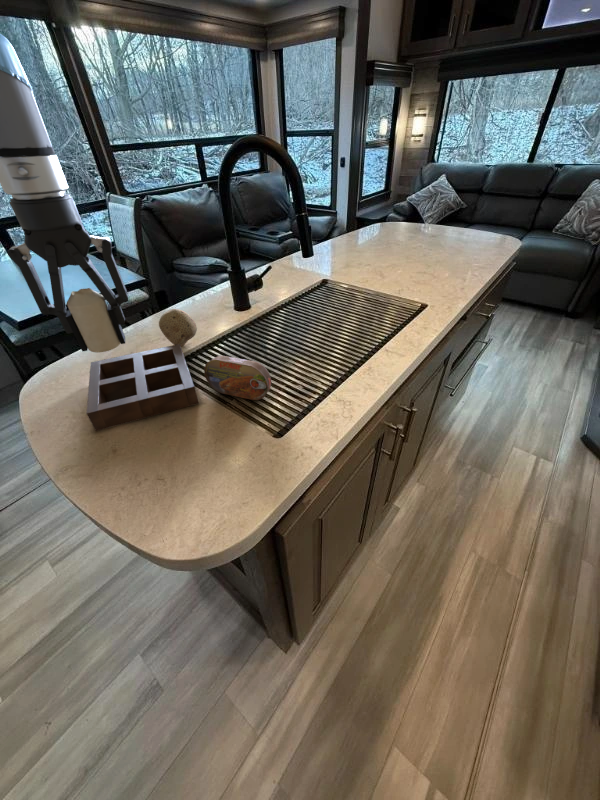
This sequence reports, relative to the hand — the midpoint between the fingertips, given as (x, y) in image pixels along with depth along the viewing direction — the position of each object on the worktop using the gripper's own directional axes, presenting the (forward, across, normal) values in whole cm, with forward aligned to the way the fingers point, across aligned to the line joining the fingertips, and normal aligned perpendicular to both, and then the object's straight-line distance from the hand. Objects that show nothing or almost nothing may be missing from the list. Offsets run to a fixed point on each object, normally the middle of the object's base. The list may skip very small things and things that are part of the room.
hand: (104, 343), depth 60 cm
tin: (+15, +22, -4) cm, 27 cm away
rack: (+15, +3, +5) cm, 16 cm away
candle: (0, 0, 0) cm, 0 cm away
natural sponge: (+15, +14, +24) cm, 31 cm away
